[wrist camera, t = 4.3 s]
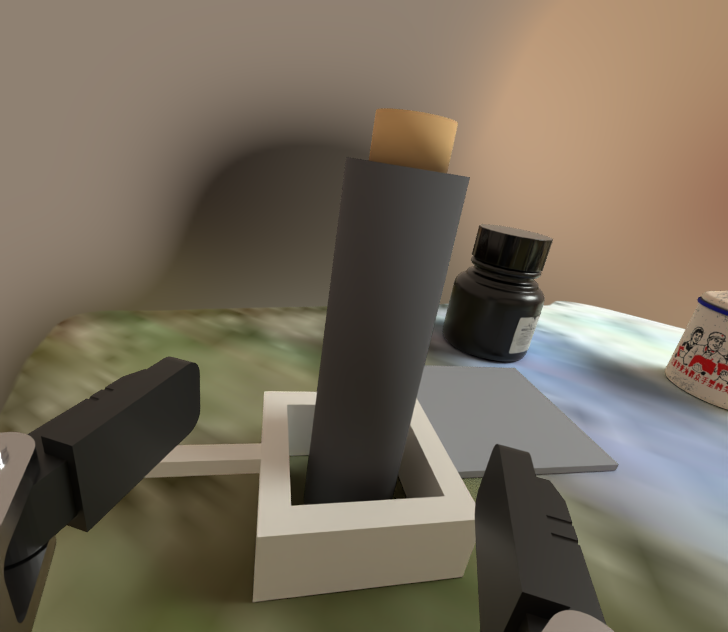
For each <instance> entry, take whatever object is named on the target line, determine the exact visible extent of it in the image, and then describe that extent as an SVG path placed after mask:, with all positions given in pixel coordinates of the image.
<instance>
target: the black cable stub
mask: <svg viewBox="0 0 728 632" xmlns="http://www.w3.org/2000/svg"><path fill="white" fill-rule="evenodd" d="M457 125H458V122H456V121H454V120H452V119H449V118H445V117H442V116H437V115H433V114H428V113H423V112H417V111H410V110H401V109H377V110H376V115H375V121H374V129H373V135H372V143H371V149H370V156H369V161H368V160H362V159H355V158H349V157H346V163H345V172H344V179H343V187H342V195H341V203H340V212H339V219H338V227H337V235H336V243H335V251H334V259H333V267H332V275H331V283H330V291H329V299H328V307H327V315H326V323H325V331H324V339H323V347H322V355H321V363H320V371H319V379H318V387H317V395H316V403H315V411H314V419H313V427H312V435H311V443H310V451H309V459H308V467H307V475H306V483H305V491H304V505H313V504H329V503H345V502H361V501H377V500H392V498H393V494H394V490H395V485H396V481H397V477H398V473H399V469H400V465H401V461H402V456H403V452H404V448H405V444H406V440H407V436H408V432H409V427H410V423H411V419H412V415H413V411H414V407H415V403H416V398H417V394H418V390H419V386H420V382H421V378H422V374H423V369H424V365H425V361H426V357H427V353H428V349H429V345H430V340H431V336H432V332H433V328H434V324H435V320H436V316H437V311H438V307H439V303H440V299H441V295H442V291H443V286H444V282H445V278H446V274H447V270H448V266H449V262H450V257H451V253H452V249H453V245H454V241H455V237H456V232H457V228H458V224H459V220H460V216H461V212H462V208H463V203H464V199H465V195H466V191H467V187H468V183H469V179H470V177H465V176H458V175H453V174H447V171H448V166H449V162H450V157H451V153H452V148H453V144H454V139H455V134H456V130H457Z"/></svg>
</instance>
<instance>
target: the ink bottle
mask: <svg viewBox="0 0 728 632" xmlns="http://www.w3.org/2000/svg"><path fill="white" fill-rule="evenodd" d="M552 241H553V239H552V238H550V237H547V236H544V235H540V234H538V233H534V232H530V231H525V230H521V229H516V228H510V227H504V226H497V225H489V224H488V225H487V224H482V225H480V226H479V229H478V233H477V236H476V240H475V244H474V248H473V252H472V255H473V256H472V258H471V261H472V263H473V264H474V266H471V267H469V268H468V269H467V270H466V271H463V272H461V273H460V274H459V275H458V276H457V277H456V279H455V282H454V285H453V289H452V293H451V297H450V301H449V305H448V309H447V313H446V317H445V321H444V325H443V335H444V337H445V338H446V340H447V341H448V342H449V343H450V344H451V345H453V346H454V347H456V348H457V349H459V350H461V351H464V352H466V353H468V354H471V355H474V356H478V357H481V358H485V359H490V360H496V361H517V360H520V359H522V358H523V357H524V356H525V355H526V353H527V350H528V348H529V345H530V342H531V339H532V336H533V334H534V331H535V328H536V325H537V322H538V319H539V317H540V314H541V310H542V307H543V304H544V295H543V293H542V291H541V290H540V289H539V288H538V283H537V282H536V281H535V280H534V279H536V278H538V277H540V276H541V271H543V268H544V265H545V262H546V259H547V256H548V253H549V250H550V247H551V244H552Z"/></svg>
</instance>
